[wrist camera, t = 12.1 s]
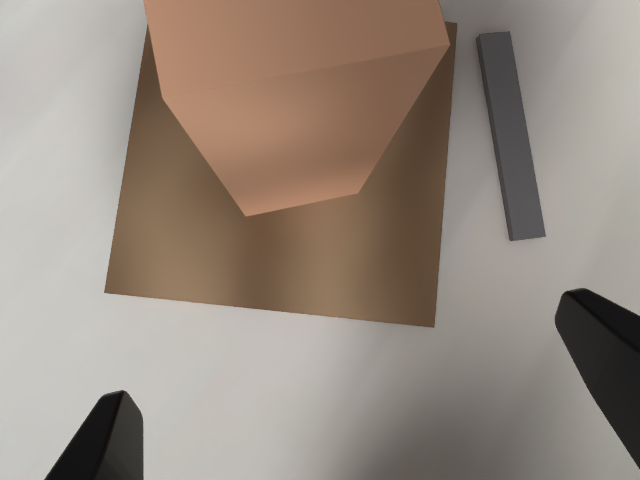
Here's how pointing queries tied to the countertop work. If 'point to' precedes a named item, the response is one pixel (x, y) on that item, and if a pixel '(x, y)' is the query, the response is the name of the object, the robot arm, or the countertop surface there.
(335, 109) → the terracotta block
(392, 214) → the pad
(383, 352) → the countertop surface
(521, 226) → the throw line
